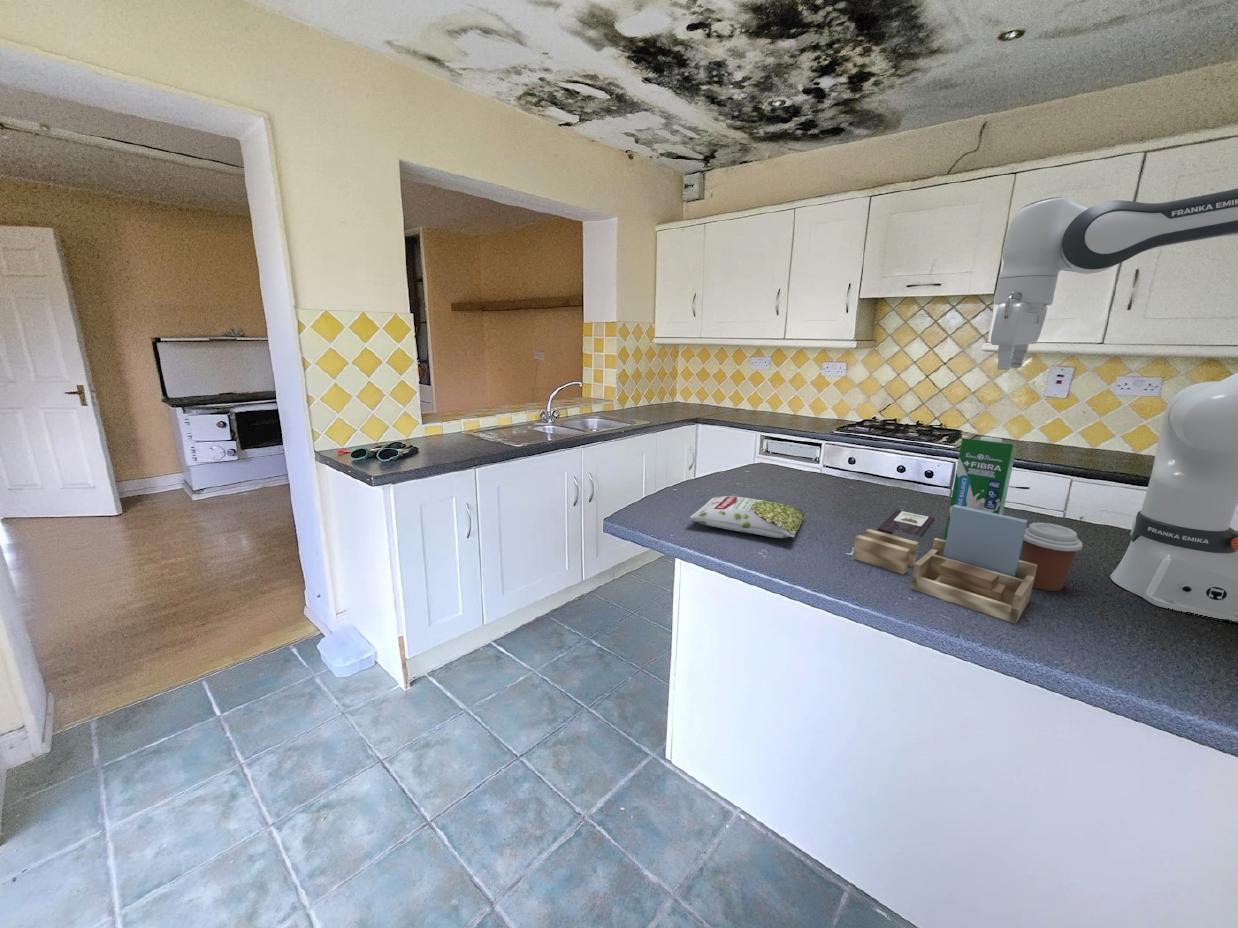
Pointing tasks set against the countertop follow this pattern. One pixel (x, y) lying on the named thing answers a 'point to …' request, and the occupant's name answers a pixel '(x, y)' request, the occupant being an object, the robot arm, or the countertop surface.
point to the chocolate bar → (906, 523)
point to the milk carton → (982, 475)
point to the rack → (1005, 609)
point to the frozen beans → (750, 516)
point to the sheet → (985, 539)
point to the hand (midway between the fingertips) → (1009, 368)
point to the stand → (885, 551)
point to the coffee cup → (1050, 553)
